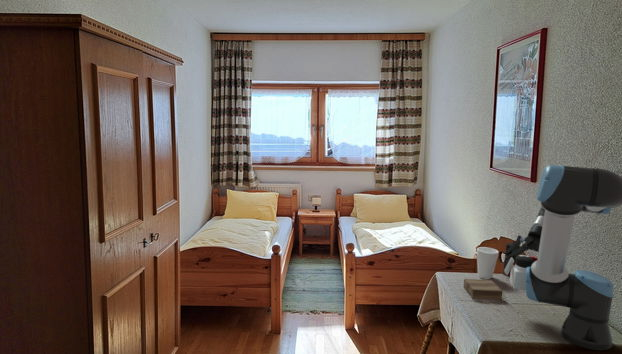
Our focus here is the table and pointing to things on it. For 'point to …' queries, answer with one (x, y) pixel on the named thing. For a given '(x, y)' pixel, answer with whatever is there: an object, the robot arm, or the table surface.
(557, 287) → the robot arm
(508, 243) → the deodorant
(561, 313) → the table surface
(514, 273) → the medicine bottle
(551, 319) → the table surface
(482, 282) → the walnut plinth
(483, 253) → the foam cup
